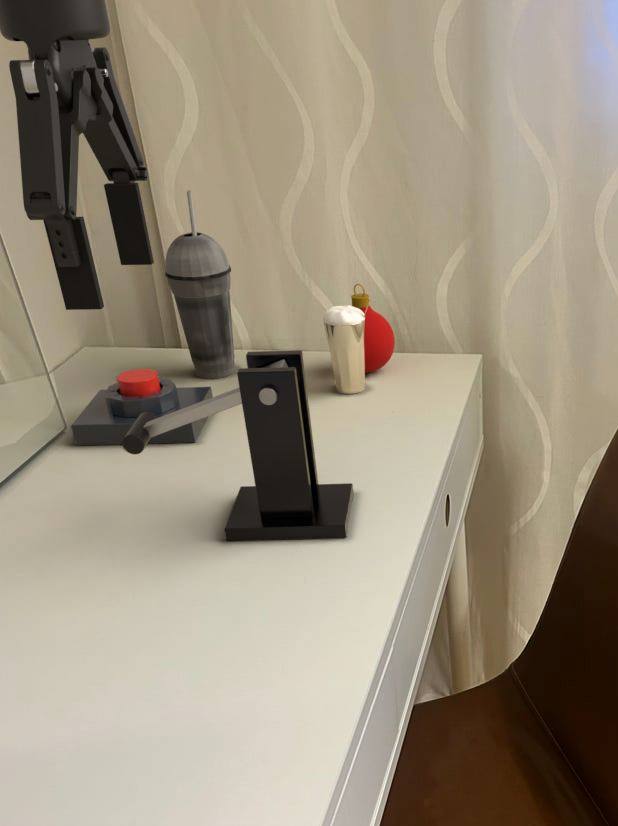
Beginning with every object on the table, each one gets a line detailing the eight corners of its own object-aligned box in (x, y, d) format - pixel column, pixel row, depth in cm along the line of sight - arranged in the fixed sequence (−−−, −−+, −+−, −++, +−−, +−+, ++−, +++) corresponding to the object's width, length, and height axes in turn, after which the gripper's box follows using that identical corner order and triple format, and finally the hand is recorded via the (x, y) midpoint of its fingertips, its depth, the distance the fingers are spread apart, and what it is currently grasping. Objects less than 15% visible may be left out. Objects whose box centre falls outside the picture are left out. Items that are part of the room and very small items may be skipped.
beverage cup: (229, 357, 119) (199, 180, 108) (258, 372, 115) (230, 189, 103) (173, 371, 116) (137, 189, 104) (201, 387, 111) (166, 198, 100)
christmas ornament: (324, 374, 114) (314, 286, 108) (363, 357, 119) (356, 272, 113) (369, 385, 111) (362, 296, 105) (408, 367, 115) (403, 281, 110)
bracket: (226, 541, 81) (195, 380, 73) (242, 498, 87) (216, 346, 80) (346, 537, 81) (328, 376, 73) (353, 495, 88) (338, 343, 80)
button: (115, 399, 98) (111, 382, 97) (126, 385, 102) (122, 369, 101) (155, 398, 98) (151, 381, 97) (164, 384, 102) (161, 368, 101)
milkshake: (372, 397, 107) (364, 305, 102) (325, 395, 108) (315, 304, 103) (382, 383, 111) (375, 293, 105) (337, 381, 112) (327, 292, 106)
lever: (131, 461, 78) (115, 435, 77) (147, 436, 82) (132, 411, 81) (291, 402, 76) (278, 374, 74) (299, 380, 80) (286, 352, 79)
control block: (76, 445, 98) (65, 408, 96) (104, 408, 106) (95, 373, 104) (195, 442, 98) (187, 404, 96) (214, 405, 106) (208, 370, 104)
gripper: (27, -27, 58) (110, 330, 70) (147, -29, 78) (195, 248, 90) (-98, -25, 58) (6, 331, 70) (55, -27, 78) (115, 249, 91)
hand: (113, 285), depth 80 cm, fingers open, 13 cm apart
